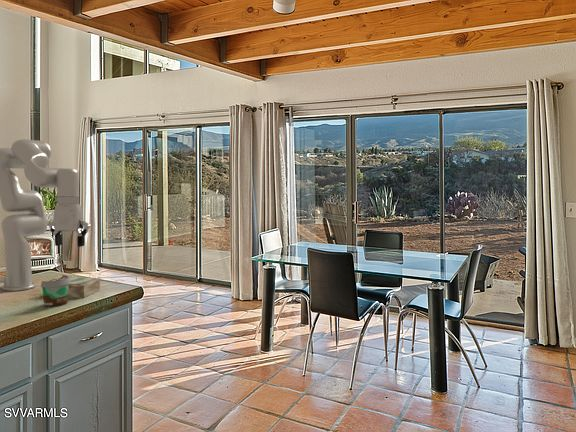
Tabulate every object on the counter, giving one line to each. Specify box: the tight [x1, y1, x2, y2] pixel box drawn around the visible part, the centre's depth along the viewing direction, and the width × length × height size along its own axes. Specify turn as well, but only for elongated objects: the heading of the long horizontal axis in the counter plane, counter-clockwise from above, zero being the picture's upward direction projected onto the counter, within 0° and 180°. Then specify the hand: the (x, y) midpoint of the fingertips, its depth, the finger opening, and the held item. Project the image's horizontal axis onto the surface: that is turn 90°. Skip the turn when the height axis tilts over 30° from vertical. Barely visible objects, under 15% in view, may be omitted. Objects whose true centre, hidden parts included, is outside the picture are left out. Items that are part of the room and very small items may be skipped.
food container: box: [40, 274, 70, 308], centre depth 176 cm, size 12×6×10 cm, turn 168°
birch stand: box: [68, 276, 101, 299], centre depth 192 cm, size 16×12×5 cm
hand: (69, 245), depth 177 cm, fingers open, 9 cm apart
